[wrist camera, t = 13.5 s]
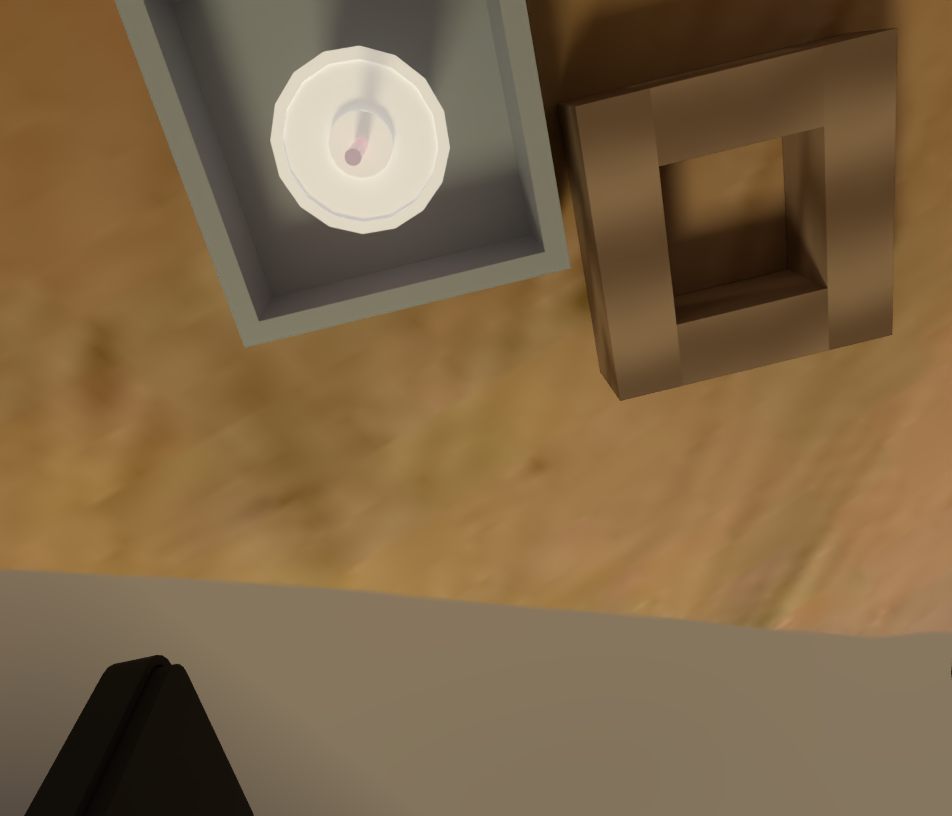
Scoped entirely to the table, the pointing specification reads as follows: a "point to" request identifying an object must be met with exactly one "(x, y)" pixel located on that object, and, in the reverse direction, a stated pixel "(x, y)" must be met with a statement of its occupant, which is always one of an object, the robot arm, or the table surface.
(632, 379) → the holder block
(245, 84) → the tray
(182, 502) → the table surface
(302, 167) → the beverage cup
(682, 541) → the table surface
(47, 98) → the table surface
